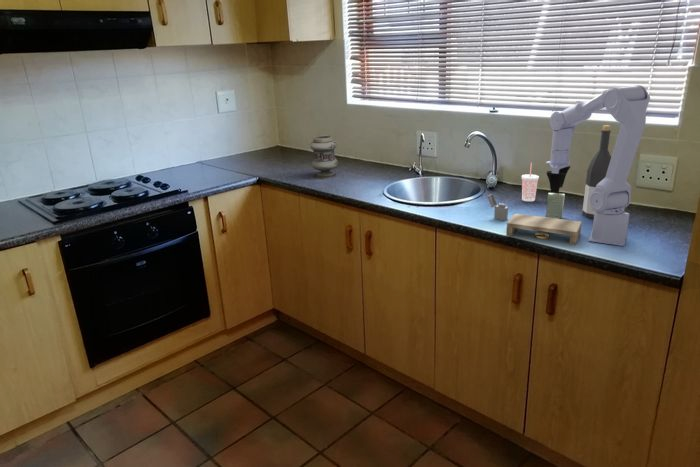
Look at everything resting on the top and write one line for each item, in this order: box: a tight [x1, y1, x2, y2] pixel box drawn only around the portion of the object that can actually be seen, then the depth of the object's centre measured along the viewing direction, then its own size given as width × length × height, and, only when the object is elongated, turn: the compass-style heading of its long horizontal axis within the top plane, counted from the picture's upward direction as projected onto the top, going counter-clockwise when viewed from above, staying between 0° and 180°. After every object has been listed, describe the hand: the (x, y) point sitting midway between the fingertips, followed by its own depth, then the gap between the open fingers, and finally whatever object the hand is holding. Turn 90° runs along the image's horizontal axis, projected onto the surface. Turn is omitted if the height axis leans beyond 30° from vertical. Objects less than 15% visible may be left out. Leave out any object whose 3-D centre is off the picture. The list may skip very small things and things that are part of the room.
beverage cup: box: [521, 162, 540, 203], centre depth 195 cm, size 6×6×14 cm
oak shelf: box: [505, 213, 582, 246], centre depth 162 cm, size 20×10×4 cm, turn 60°
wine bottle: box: [581, 124, 612, 220], centre depth 172 cm, size 8×8×30 cm
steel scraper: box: [545, 192, 566, 219], centre depth 171 cm, size 6×15×8 cm, turn 150°
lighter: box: [486, 193, 509, 221], centre depth 178 cm, size 7×2×8 cm, turn 47°
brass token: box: [534, 231, 550, 240], centre depth 161 cm, size 4×4×1 cm
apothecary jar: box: [310, 134, 339, 179], centre depth 241 cm, size 12×12×18 cm
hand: (556, 189), depth 175 cm, fingers open, 7 cm apart
